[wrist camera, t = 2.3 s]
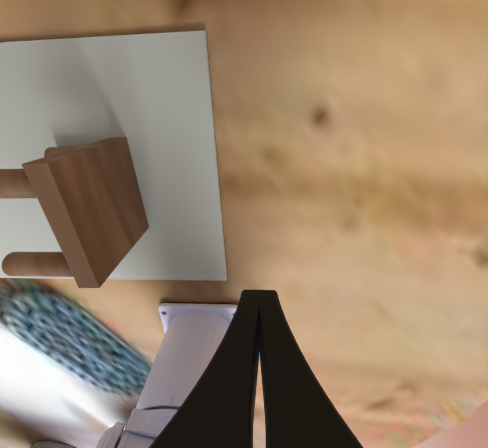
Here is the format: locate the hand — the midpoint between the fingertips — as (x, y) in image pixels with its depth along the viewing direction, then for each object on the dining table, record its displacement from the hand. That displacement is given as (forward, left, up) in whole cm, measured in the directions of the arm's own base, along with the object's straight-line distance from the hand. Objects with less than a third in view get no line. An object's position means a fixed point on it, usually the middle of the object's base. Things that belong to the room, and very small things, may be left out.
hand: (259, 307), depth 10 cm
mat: (+2, +15, -10) cm, 18 cm away
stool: (+2, +12, -10) cm, 15 cm away
